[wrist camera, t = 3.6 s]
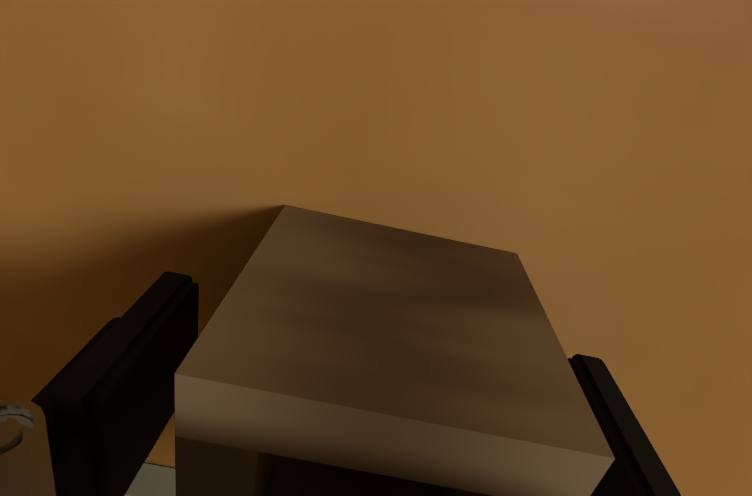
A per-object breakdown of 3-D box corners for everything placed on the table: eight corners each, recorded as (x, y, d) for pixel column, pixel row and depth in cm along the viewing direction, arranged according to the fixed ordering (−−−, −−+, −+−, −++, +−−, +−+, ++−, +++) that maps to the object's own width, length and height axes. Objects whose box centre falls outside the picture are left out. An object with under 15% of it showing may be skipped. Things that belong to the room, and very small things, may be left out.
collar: (516, 253, 11) (615, 459, 6) (452, 417, 14) (480, 658, 9) (285, 205, 11) (174, 373, 6) (264, 381, 14) (176, 606, 9)
